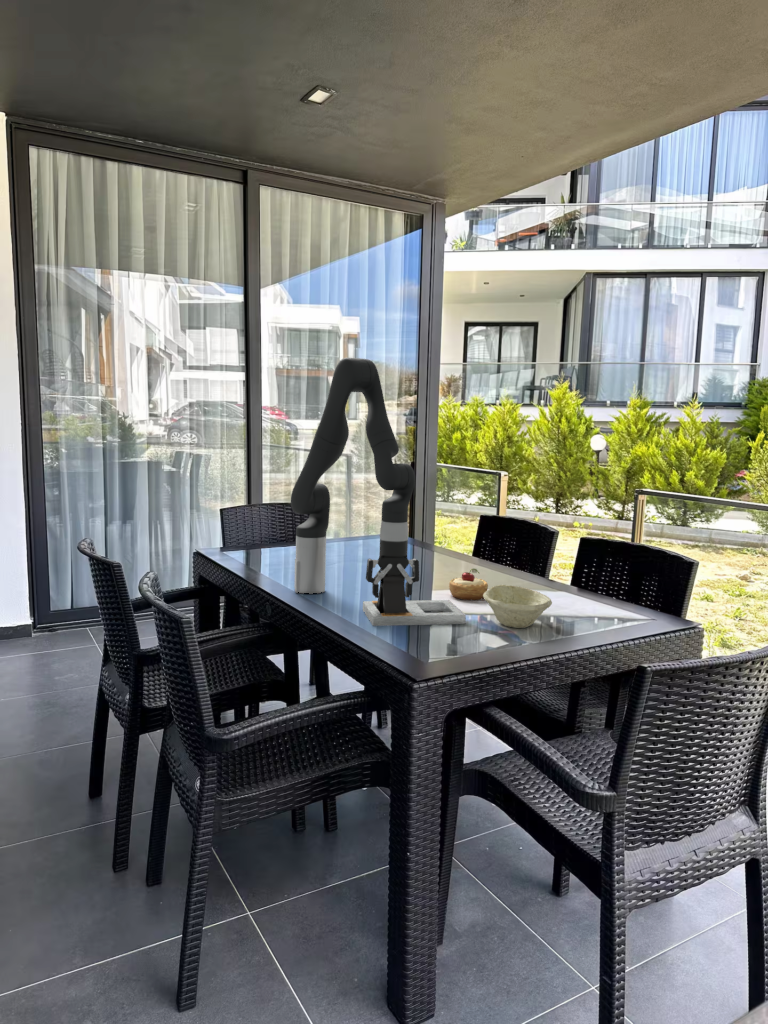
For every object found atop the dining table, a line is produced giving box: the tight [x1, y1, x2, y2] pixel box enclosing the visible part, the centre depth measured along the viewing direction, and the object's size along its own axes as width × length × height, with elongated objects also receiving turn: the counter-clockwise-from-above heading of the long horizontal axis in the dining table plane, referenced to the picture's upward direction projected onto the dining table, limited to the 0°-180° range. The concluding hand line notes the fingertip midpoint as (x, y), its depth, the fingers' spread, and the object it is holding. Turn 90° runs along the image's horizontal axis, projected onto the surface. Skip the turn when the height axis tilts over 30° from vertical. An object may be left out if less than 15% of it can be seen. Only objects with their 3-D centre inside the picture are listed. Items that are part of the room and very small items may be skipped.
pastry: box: [448, 568, 489, 601], centre depth 226 cm, size 12×12×9 cm
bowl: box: [483, 584, 553, 629], centre depth 195 cm, size 14×18×15 cm
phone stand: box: [377, 574, 407, 613], centre depth 199 cm, size 9×6×12 cm, turn 18°
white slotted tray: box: [362, 599, 467, 627], centre depth 200 cm, size 25×16×3 cm, turn 101°
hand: (391, 597), depth 199 cm, fingers open, 8 cm apart
